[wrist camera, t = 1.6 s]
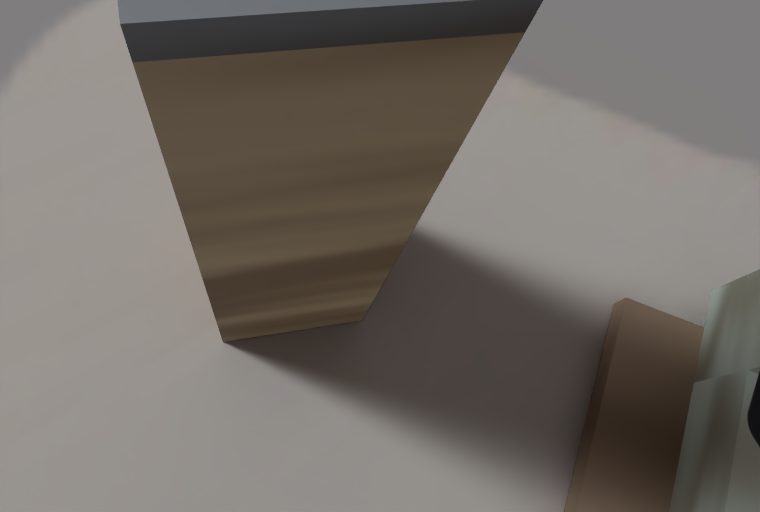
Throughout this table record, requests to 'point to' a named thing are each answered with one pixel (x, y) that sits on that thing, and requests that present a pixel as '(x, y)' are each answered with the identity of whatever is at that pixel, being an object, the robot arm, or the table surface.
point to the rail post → (311, 137)
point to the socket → (674, 411)
